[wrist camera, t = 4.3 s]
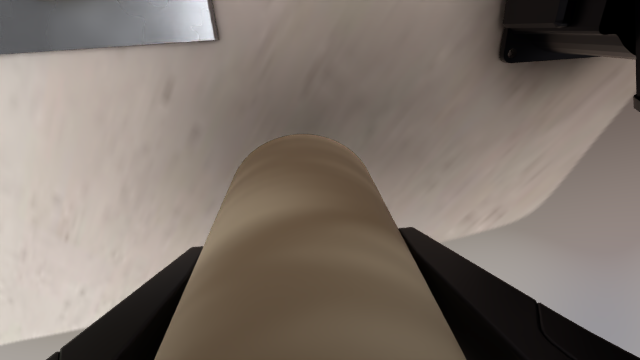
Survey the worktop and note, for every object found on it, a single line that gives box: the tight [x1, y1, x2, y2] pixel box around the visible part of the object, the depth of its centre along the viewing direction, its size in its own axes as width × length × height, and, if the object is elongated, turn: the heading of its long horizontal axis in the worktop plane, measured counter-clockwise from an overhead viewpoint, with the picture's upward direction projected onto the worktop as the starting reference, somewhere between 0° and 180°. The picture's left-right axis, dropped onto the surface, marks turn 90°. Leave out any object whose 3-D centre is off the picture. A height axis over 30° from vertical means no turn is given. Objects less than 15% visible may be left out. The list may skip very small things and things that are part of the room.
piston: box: [154, 134, 466, 360], centre depth 7 cm, size 5×5×9 cm
